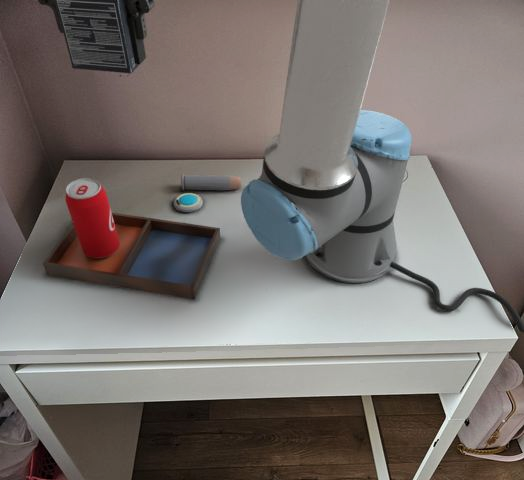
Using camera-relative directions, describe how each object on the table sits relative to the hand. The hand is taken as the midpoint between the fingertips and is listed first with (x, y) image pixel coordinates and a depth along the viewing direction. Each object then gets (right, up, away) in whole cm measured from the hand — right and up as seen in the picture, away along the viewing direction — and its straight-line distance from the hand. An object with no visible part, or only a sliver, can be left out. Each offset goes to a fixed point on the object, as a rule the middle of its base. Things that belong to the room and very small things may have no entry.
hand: (108, 57), depth 84 cm
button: (+11, -20, +13) cm, 27 cm away
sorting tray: (+4, -32, +4) cm, 32 cm away
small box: (0, -1, +1) cm, 1 cm away
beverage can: (-2, -30, +4) cm, 31 cm away
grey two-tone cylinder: (+15, -14, +15) cm, 26 cm away
